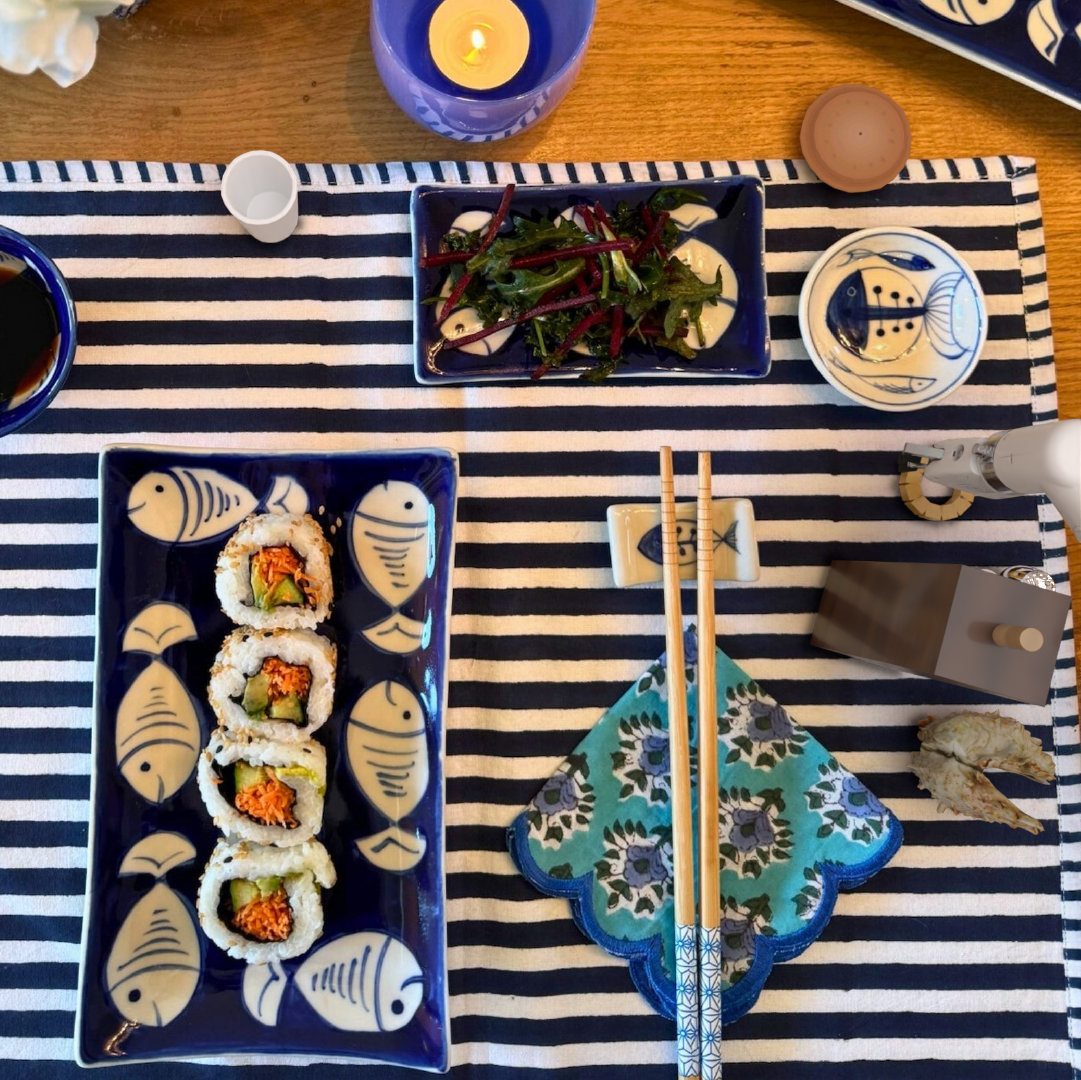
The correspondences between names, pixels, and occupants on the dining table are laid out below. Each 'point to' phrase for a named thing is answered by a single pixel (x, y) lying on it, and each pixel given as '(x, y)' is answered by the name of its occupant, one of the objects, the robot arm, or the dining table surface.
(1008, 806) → the seashell
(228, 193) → the cup
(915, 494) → the ring
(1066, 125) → the dining table surface
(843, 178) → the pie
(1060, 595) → the peg stand
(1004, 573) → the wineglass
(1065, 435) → the robot arm
